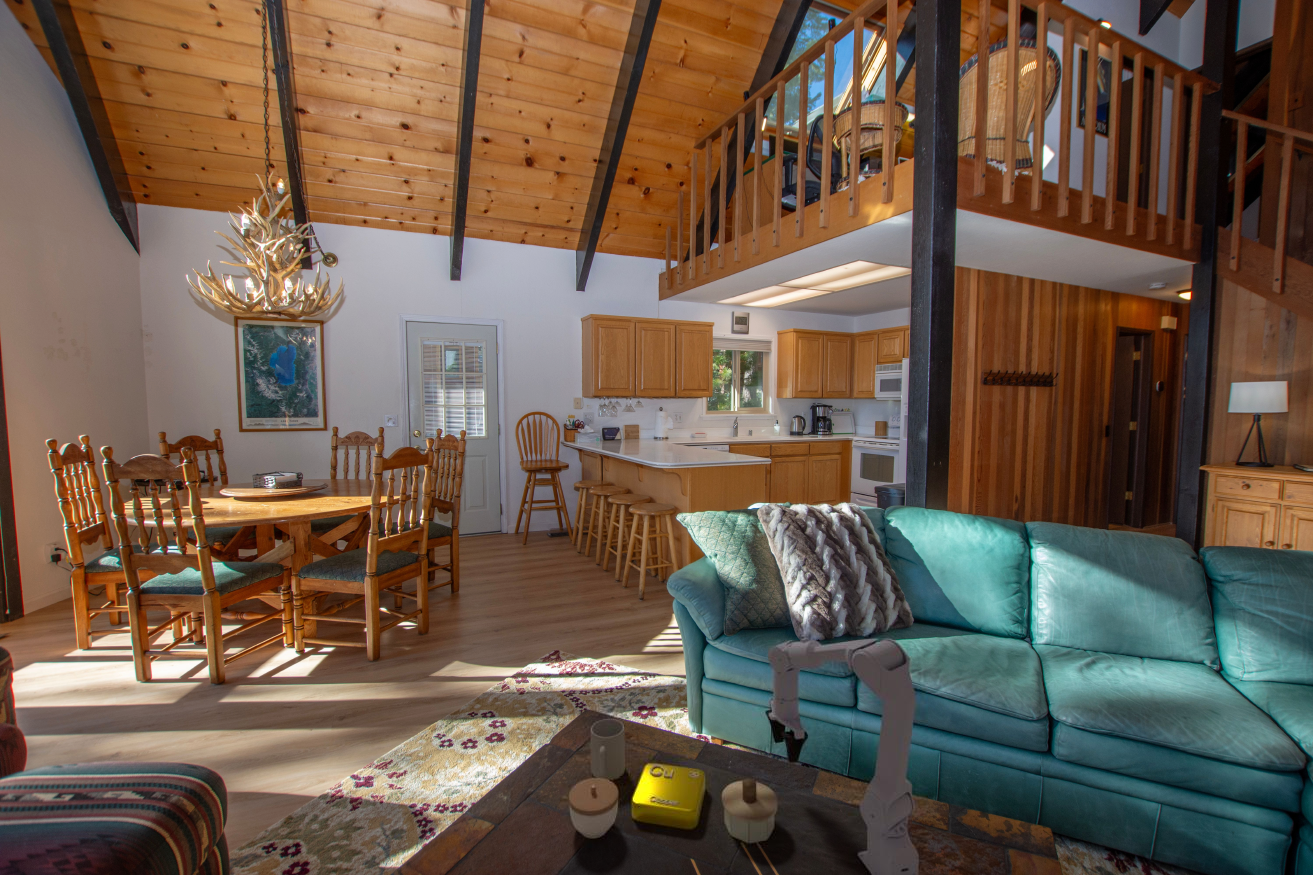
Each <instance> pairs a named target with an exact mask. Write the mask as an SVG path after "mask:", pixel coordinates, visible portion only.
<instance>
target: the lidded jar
mask: <svg viewBox="0 0 1313 875" xmlns="http://www.w3.org/2000/svg"><path fill="white" fill-rule="evenodd" d="M568 804H569V813H570V818H571V823H572V824H573V826H574V827H575V829H576V830H577V831H578V832H579V833H580V834H581V835H582V836H583V837H585V838H588V839H598V838H601V837H603V836H604V835H606V833H607V832H608V831H609V830H610V828H611V827H612V826H613V824H614V823H615V821H616V818H617V814H618V808H619V788H618V786H617V785H616V784H615V783H614V782H613V781H612V780H611V781H609V780H607V779H604V778H595V777H591V778H586V779H584V780H581V781H578V782H577V783H576V784H575V785H573V787H572V788H571V789H570V791H569V794H568Z"/></svg>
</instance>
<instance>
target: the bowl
mask: <svg viewBox="0 0 1313 875" xmlns="http://www.w3.org/2000/svg"><path fill="white" fill-rule="evenodd" d="M723 812H724V813H723V814H724V816H723V817H724V818H723V819H724V820H723V821H724V824H725V826H726V828H727V831H728V832H729V836H731V837H733V838H735V839H738V840H740V841H743V842H745V843H747V844H753V843H758V842H763V841H767V840H769V837H771V835H772V833H773V830H774V829H775V815H774V816H773V817H771V818H770V819H768V820H766V821H763V822H757V823H751V822H744V821H741V820H738V819H736V818H734V817H732V816H731V815H730V814H728V813H727V812H726V810H725V809H724V808H723Z"/></svg>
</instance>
